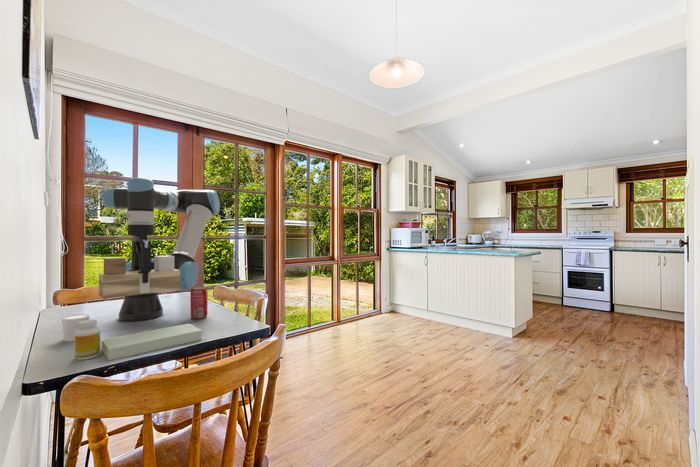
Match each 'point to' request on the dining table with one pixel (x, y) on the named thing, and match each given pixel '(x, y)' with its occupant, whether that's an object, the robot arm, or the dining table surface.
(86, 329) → the supplement bottle
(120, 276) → the wooden block
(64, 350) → the dining table surface
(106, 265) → the brown wooden cube
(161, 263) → the white cube
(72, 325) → the white cup
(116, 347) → the block
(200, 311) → the beverage can
